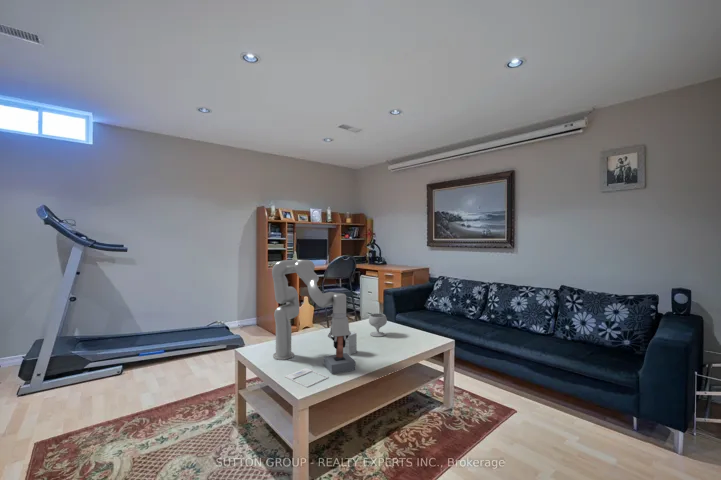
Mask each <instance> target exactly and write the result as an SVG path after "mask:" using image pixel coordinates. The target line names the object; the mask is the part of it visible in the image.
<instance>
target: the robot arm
mask: <svg viewBox="0 0 721 480" xmlns="http://www.w3.org/2000/svg"><path fill="white" fill-rule="evenodd" d="M315 268H316V266H315V263H314V262H313V261H312V260H310V259H285V260H284V259H283V260H280V261H277V262H276V263H275V264H274V265H273V266H272V269H271V275H272V279H273V290H274V299H275V302H276V303H277V304H280V305H279V306H277V307H276V309H275V310H274V313H273V316H274V321H275V322H274V323H275V353H273V355H272V358H273V359H274V360H280V361H282V360H283V361H285V360H288V359H292V358H293V357H294V356H295V353H294V352H293V351H292V324H291V322H290V320H291V319H294V318H296V317H298V316H299V314H300V303H299V302H300V300H299V293H298V291H297V289H296V288H295V287H294V286H289V282H288V281H289V280H288V278H287V277H286V275H288V274H294V273H296V275H297V276H298V277H299V278H300V279H301V281H303V283H304V284H305V285H306V286H307V291H308V294H309V297H310V298H311V300H312V301H313V302H314V303H315V304H316V305H317V306H318V307H319V308H327V307H329V306H332V314H330V317H332V318H331V321H330V328H329V329H330V331H329V333H328V335H327V337H328V338H329V339H331V340H332V341H333V348H335V350H336V349H337V337H339V336H343V347H344V348H345V345H346V339H347V338H348V336H350V335H351V332H352V331H350V323H349V319H348V318H349V317H347V295H346V294H345V293H343V292H342V293H341V292H339V293H337V292H335V291H334V292H333V291H328V292H325V293H323V291H321V289H320V288H319V287H318V282H319V279H320V278H319V275H318V274H317V273H316V272H315ZM281 304H284V305H281Z"/></svg>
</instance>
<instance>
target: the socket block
mask: <svg viewBox="0 0 721 480" xmlns="http://www.w3.org/2000/svg"><path fill="white" fill-rule="evenodd" d="M323 365H324V367H325V368H326V369H327V370H328V372H329V373H330V374H331V375H335V374H341V373H347V372H353V371H356V360H355V359H354V358H353V357H352V356H351V355H348V354H347V353H343V357H342V358H337V357H336V354H330V355H324V356H323Z"/></svg>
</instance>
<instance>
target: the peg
mask: <svg viewBox="0 0 721 480" xmlns="http://www.w3.org/2000/svg"><path fill="white" fill-rule="evenodd" d="M335 355H336V357H337V358H342V357H343V336H339V337H337V349H336V348H335Z"/></svg>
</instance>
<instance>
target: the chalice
mask: <svg viewBox="0 0 721 480" xmlns="http://www.w3.org/2000/svg"><path fill="white" fill-rule="evenodd" d="M368 323H369V325H370V326H372V327H374V328H375V330H376V331H372V332H370V333H369V335H370V336H372V337H379V338H380V337H385V336H386V335H387V334H386V333H385V332H383V331H380V328H382V327H384V326H386V324H387V323H388V319H387V316H386V314H384V313H372V314H370V315H369V317H368Z"/></svg>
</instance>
